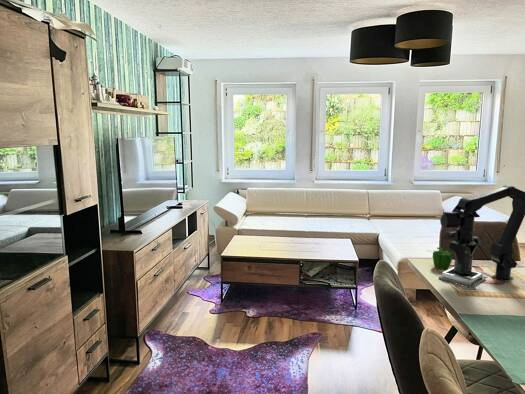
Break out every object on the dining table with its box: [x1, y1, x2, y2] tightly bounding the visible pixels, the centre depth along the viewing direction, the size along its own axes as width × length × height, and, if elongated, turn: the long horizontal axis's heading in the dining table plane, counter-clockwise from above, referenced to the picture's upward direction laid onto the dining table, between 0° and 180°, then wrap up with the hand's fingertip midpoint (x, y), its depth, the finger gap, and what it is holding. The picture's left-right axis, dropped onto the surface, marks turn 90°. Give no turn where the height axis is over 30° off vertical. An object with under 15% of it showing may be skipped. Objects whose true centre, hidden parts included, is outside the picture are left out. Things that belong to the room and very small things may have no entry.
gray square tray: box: [438, 266, 487, 288], centre depth 175 cm, size 14×14×3 cm
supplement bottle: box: [453, 247, 473, 277], centre depth 174 cm, size 7×7×12 cm
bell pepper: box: [432, 247, 453, 270], centre depth 190 cm, size 8×8×10 cm
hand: (463, 262), depth 174 cm, fingers closed on supplement bottle, 7 cm apart
